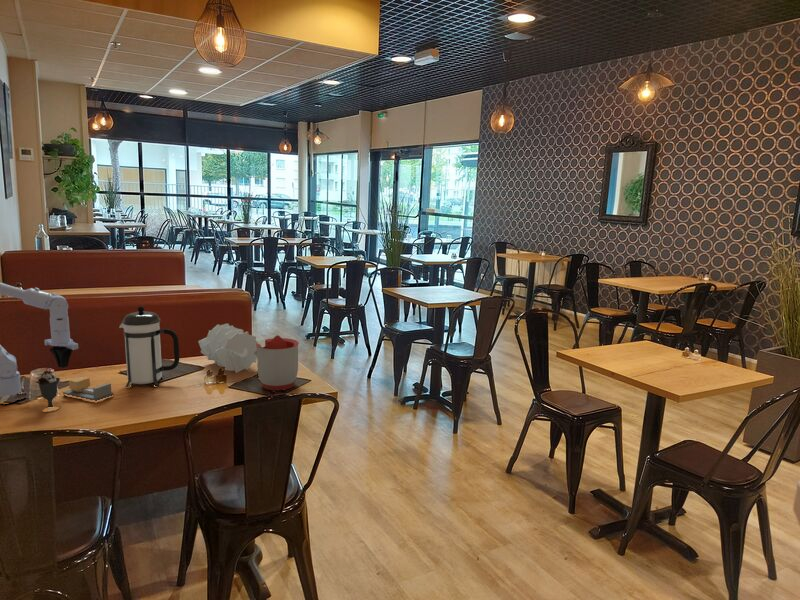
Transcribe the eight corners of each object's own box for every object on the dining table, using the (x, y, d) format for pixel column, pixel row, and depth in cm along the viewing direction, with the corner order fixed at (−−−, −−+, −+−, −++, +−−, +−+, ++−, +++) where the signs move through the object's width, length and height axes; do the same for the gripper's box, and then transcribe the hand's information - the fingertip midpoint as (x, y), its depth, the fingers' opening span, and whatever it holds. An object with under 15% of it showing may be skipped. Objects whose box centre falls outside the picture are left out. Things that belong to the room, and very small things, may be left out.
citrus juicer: (267, 377, 223) (266, 328, 220) (306, 382, 218) (306, 332, 214) (244, 389, 209) (243, 337, 205) (285, 395, 203) (284, 342, 199)
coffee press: (137, 393, 202) (132, 312, 196) (116, 384, 211) (110, 306, 206) (181, 382, 215) (178, 305, 210) (159, 373, 225) (155, 300, 219)
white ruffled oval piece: (227, 367, 248) (254, 379, 229) (190, 357, 236) (215, 368, 217) (242, 328, 250) (270, 336, 232) (206, 316, 239) (232, 323, 220)
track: (63, 396, 197) (62, 382, 196) (81, 390, 204) (80, 377, 203) (96, 403, 191) (95, 389, 191) (113, 396, 198) (112, 383, 197)
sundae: (57, 404, 189) (53, 361, 187) (65, 409, 185) (61, 366, 183) (35, 409, 184) (31, 366, 182) (43, 415, 180) (39, 370, 178)
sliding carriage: (69, 391, 197) (68, 380, 196) (82, 387, 202) (81, 376, 201) (77, 393, 196) (76, 382, 195) (90, 388, 200) (89, 378, 200)
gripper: (84, 329, 199) (87, 366, 201) (56, 325, 204) (59, 361, 206) (66, 333, 192) (69, 371, 195) (37, 329, 198) (41, 366, 200)
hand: (63, 366), depth 200 cm, fingers closed
